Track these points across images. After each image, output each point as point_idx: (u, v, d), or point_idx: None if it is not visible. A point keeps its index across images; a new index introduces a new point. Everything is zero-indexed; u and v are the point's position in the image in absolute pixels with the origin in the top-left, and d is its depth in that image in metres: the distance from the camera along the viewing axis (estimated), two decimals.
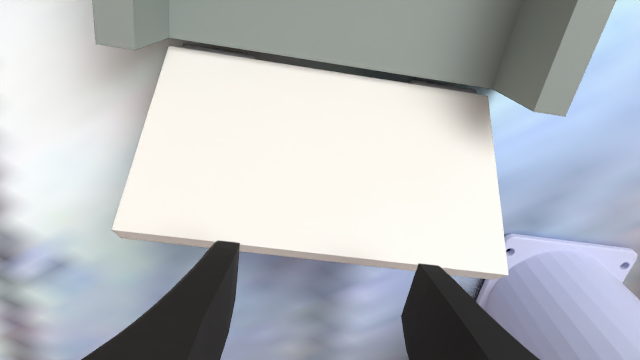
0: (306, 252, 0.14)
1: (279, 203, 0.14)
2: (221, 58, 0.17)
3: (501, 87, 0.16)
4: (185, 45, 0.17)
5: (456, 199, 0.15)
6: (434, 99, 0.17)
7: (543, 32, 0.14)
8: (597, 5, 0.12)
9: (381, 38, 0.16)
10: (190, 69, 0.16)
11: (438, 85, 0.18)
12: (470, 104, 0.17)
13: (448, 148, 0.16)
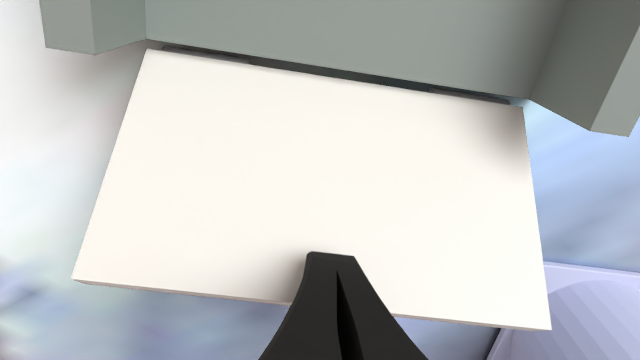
0: None
1: (276, 242, 0.12)
2: (208, 63, 0.14)
3: (542, 98, 0.14)
4: (166, 47, 0.14)
5: (487, 235, 0.13)
6: (460, 112, 0.15)
7: (602, 33, 0.11)
8: None
9: (399, 39, 0.13)
10: (172, 76, 0.14)
11: (464, 95, 0.15)
12: (502, 118, 0.15)
13: (477, 171, 0.14)
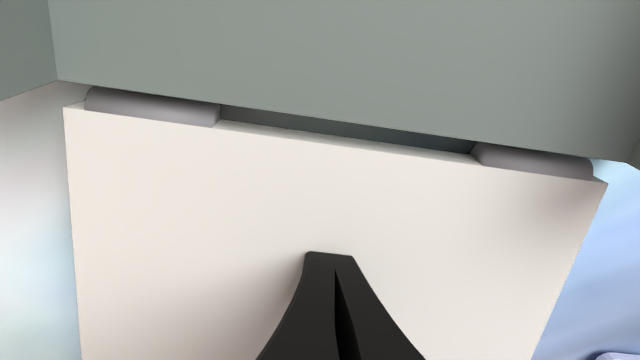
0: None
1: (263, 338, 0.12)
2: (157, 128, 0.10)
3: None
4: (90, 103, 0.09)
5: (485, 332, 0.12)
6: (512, 194, 0.11)
7: None
8: None
9: (441, 80, 0.09)
10: (112, 154, 0.10)
11: (530, 165, 0.10)
12: (569, 201, 0.11)
13: (502, 270, 0.12)
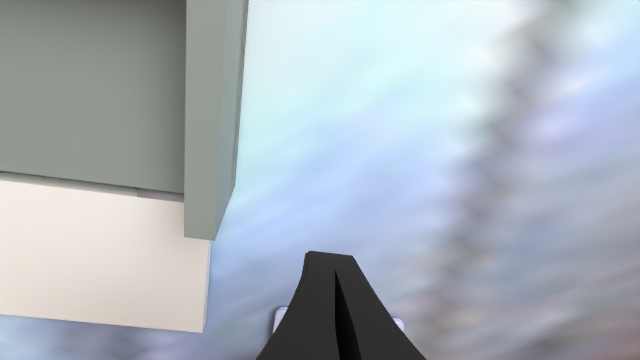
0: (65, 319, 0.22)
1: (39, 293, 0.21)
2: None
3: None
4: None
5: (170, 289, 0.21)
6: (157, 211, 0.20)
7: None
8: (203, 157, 0.14)
9: (89, 156, 0.18)
10: None
11: (163, 196, 0.19)
12: None
13: (167, 253, 0.21)
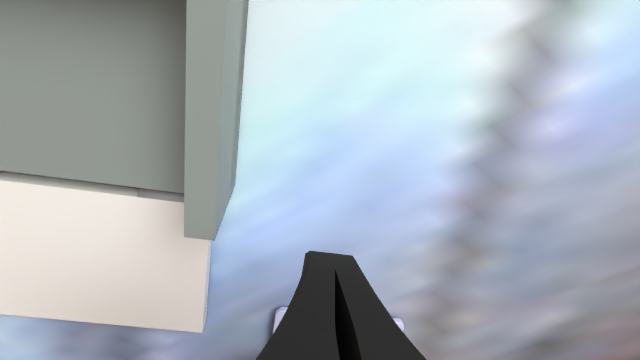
0: (65, 319, 0.22)
1: (39, 293, 0.21)
2: None
3: None
4: None
5: (170, 289, 0.21)
6: (157, 211, 0.20)
7: None
8: (203, 157, 0.14)
9: (89, 156, 0.18)
10: None
11: (163, 196, 0.19)
12: None
13: (167, 253, 0.21)
